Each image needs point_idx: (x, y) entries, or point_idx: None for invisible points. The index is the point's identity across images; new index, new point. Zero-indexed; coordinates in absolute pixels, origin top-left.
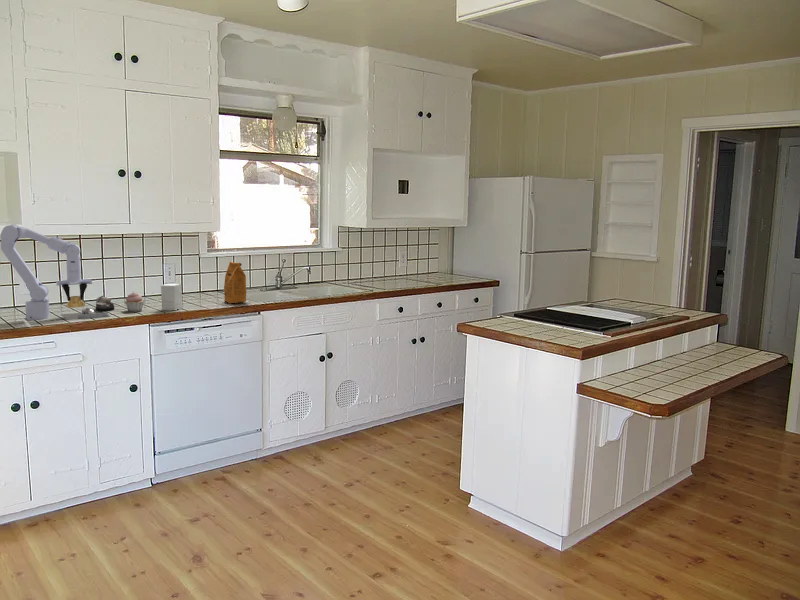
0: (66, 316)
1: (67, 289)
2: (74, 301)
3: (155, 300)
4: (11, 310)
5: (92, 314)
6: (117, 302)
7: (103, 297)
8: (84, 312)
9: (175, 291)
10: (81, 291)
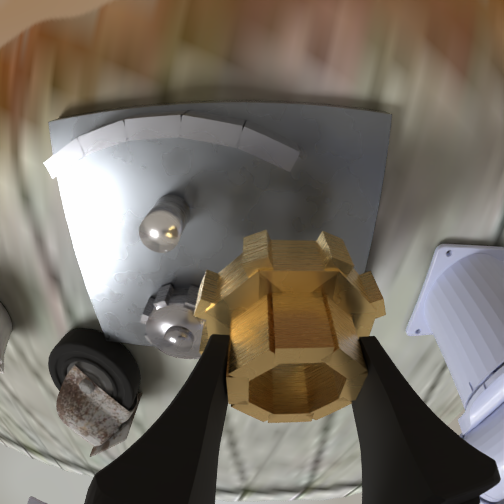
0: None
1: (444, 453)
2: (322, 304)
3: (9, 417)
4: None
5: (164, 114)
6: None
7: (92, 439)
8: None
9: None
10: (206, 430)
